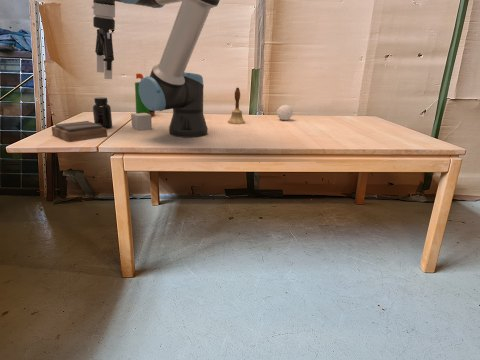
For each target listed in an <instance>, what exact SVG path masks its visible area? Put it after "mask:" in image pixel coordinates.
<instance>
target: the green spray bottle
mask: <svg viewBox="0 0 480 360" xmlns="http://www.w3.org/2000/svg"><path fill="white" fill-rule="evenodd" d="M135 77H136V78H135V79H140V80H141V79H142V78H144V76H143V74H142V73H136V74H135ZM139 83H140V81H138V82H134V91H135V114H136V113H147V114H150V115H151V118H153V117H155V116H156V113H155V112H156V111H152V110H149V109H148V108H146V107H145V105H144V104H143V103H142V101H141V98H140V95H139Z"/></svg>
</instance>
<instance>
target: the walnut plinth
mask: <svg viewBox="0 0 480 360" xmlns="http://www.w3.org/2000/svg"><path fill="white" fill-rule="evenodd" d="M51 134H52V136H53V135H54V137H56V138H58V137H59V138H58V139H61V140H64V141H65V142H68V143H70V142H79V141H86V140H92V139H99V138H106V137H108V129H107V128H104V127H103V126H102V125H99V124H95V123H94V122H91V121H89V120H84V121H75V122H74V121H73V122H67V123H66V122H65V123H56V124H55V125H54V126H51Z"/></svg>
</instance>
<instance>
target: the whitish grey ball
mask: <svg viewBox="0 0 480 360" xmlns="http://www.w3.org/2000/svg"><path fill="white" fill-rule="evenodd" d="M293 110H294V109H293V107H292V106H291V105H288V104H283V105H282V106H281V105H280V106H279V107H278V109H277V110H276V115H277V118H279V120H281V121H288V120H290V119H291V118H292V116H293V115H294V114H293V113H294V112H293Z"/></svg>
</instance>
